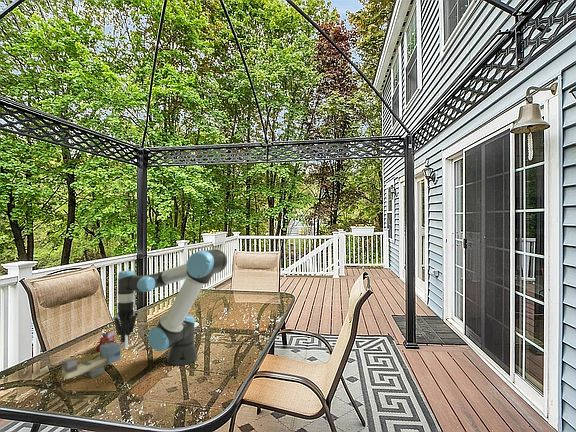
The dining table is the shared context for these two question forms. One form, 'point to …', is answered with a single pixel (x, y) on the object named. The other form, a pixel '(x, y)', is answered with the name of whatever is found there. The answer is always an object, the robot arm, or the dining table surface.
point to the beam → (84, 367)
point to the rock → (88, 358)
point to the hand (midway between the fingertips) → (124, 347)
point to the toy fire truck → (106, 339)
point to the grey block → (110, 352)
